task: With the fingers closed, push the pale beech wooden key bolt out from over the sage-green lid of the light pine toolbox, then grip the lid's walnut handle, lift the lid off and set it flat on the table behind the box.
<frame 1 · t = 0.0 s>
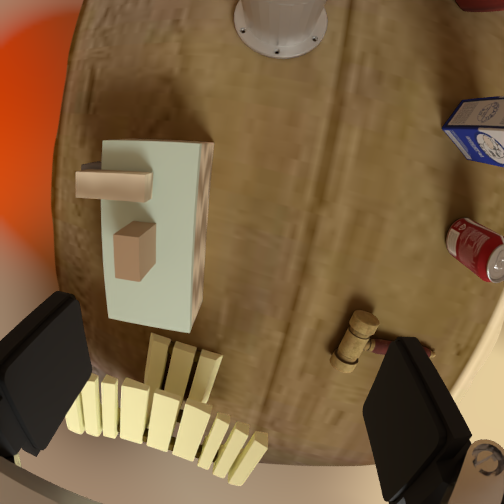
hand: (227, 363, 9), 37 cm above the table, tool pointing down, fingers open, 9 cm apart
key bolt: (113, 184, 33), point 11 cm above the table, slide at 0.0 cm
lid: (147, 239, 38), point 8 cm above the table, touching toolbox
gavel: (390, 342, 52), on the table
toolbox: (166, 222, 46), on the table
slatted curved stool: (179, 374, 56), on the table
milk carton: (464, 129, 38), on the table
soda can: (459, 236, 44), on the table
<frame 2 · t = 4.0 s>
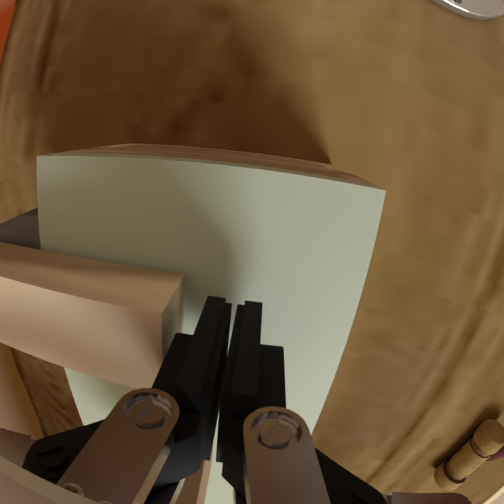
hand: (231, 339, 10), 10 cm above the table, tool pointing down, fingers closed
key bolt: (55, 307, 10), point 11 cm above the table, slide at 0.9 cm, touching gripper
lid: (187, 412, 15), point 8 cm above the table, touching toolbox
gavel: (497, 440, 28), on the table
toolbox: (212, 328, 22), on the table
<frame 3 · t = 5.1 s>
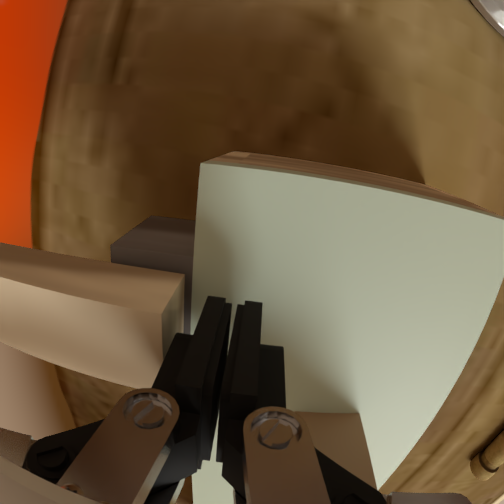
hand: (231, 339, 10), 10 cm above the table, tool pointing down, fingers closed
key bolt: (55, 307, 10), point 11 cm above the table, slide at 7.2 cm, touching gripper
lid: (312, 426, 14), point 8 cm above the table, touching toolbox
toolbox: (302, 339, 22), on the table
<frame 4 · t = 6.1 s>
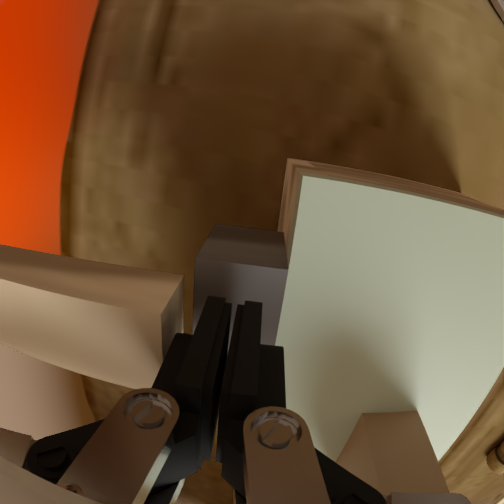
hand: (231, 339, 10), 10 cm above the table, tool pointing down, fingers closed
key bolt: (55, 309, 10), point 11 cm above the table, slide at 10.3 cm, touching gripper
lid: (368, 426, 14), point 8 cm above the table, touching toolbox
toolbox: (344, 342, 22), on the table
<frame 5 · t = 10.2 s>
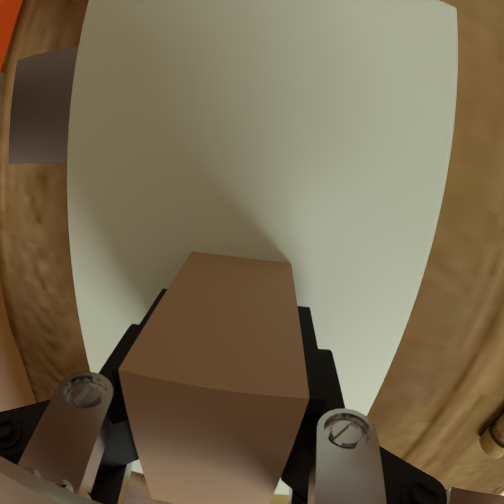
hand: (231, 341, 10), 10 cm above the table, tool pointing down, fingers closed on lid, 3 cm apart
lid: (237, 309, 12), point 8 cm above the table, touching gripper, toolbox
toolbox: (250, 241, 19), on the table
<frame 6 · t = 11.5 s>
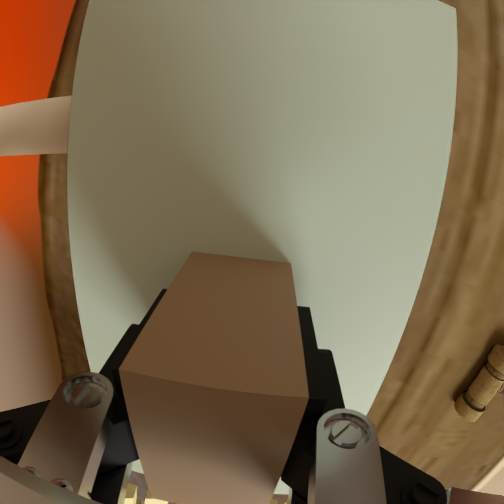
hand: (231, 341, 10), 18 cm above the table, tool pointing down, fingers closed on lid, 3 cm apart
key bolt: (24, 129, 14), point 11 cm above the table, slide at 10.3 cm
lid: (237, 309, 12), point 16 cm above the table, touching gripper
slatted curved stool: (241, 443, 36), on the table
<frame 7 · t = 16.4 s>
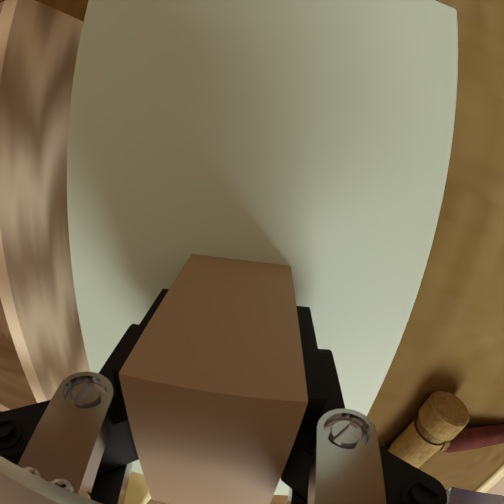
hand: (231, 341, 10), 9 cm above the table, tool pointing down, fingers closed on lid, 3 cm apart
lid: (237, 311, 12), point 7 cm above the table, touching gripper
gavel: (463, 426, 25), on the table
toolbox: (24, 215, 18), on the table
slatted curved stool: (106, 459, 29), on the table
when the fingers open (4 cm above the table, at t = 17.9 s): lid drops 2 cm, on the table.
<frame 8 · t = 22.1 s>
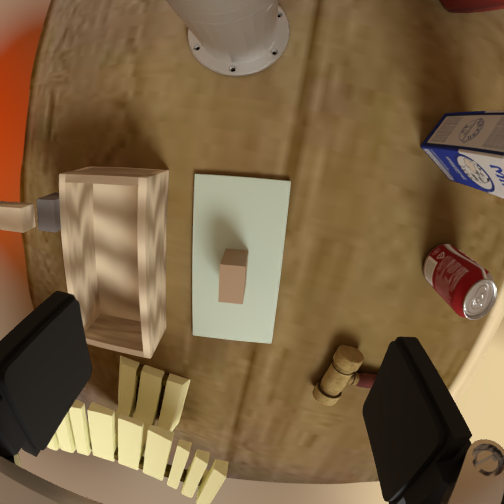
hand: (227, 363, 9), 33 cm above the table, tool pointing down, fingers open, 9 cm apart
key bolt: (5, 215, 32), point 11 cm above the table, slide at 10.3 cm
lid: (237, 263, 44), on the table
gavel: (375, 374, 50), on the table
toolbox: (127, 251, 44), on the table
slatted curved stool: (150, 395, 54), on the table
milk carton: (447, 146, 36), on the table
soda can: (439, 263, 42), on the table
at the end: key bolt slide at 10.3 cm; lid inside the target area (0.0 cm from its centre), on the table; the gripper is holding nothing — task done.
